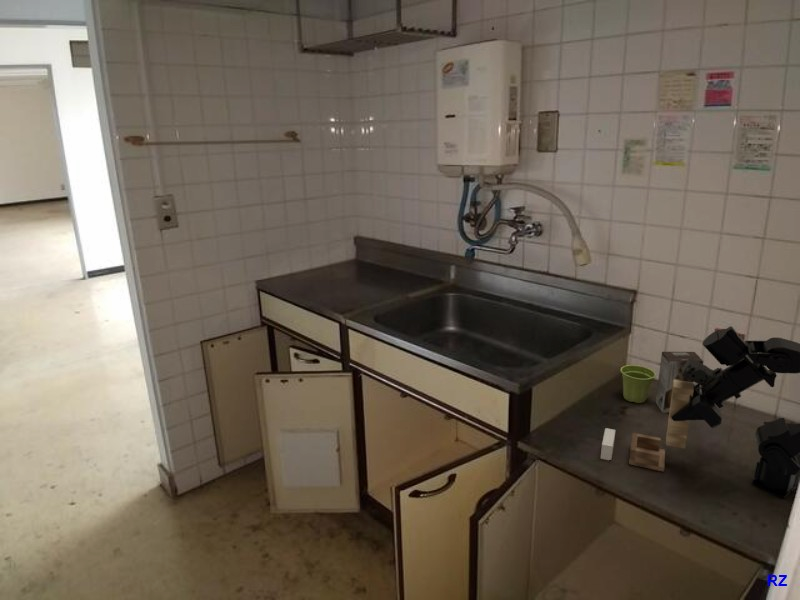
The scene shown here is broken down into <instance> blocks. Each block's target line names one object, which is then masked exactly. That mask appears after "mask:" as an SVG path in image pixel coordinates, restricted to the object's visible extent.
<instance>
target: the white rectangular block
mask: <svg viewBox="0 0 800 600" xmlns="http://www.w3.org/2000/svg"><path fill="white" fill-rule="evenodd" d="M615 437H616V429H612V428H608V427H607V428H605V429H604V433H603V438H602V443H601V451H600V460H605V461H609V460H611V461H612V457H613V452H614V446H615Z"/></svg>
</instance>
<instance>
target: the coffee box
mask: <svg viewBox="0 0 800 600" xmlns="http://www.w3.org/2000/svg"><path fill="white" fill-rule="evenodd" d="M689 358H692V359H694V360H696V361H698V362H700V363H702V364H703V365H704V360H703V359H702V358H701V357H700V355H698V354H697V353H696V352H695V351H662V352H661V357H660V365H659V371H658V380H657V389H656V396H655V404H656V406H657V407H658V408H659V410H660V411H661V412H662V413H666V414H667V413H669V411H670V404H671V396H672V389H673V381H674V380H680V381H687V382H689V380H690V379H687V378H685V377H684V376H682V370H681V368H682V367H683V366H684V365H685V363H686V362H687V361H688V359H689ZM691 381H692V380H691ZM692 382H694V381H692Z"/></svg>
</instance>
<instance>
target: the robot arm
mask: <svg viewBox="0 0 800 600" xmlns="http://www.w3.org/2000/svg"><path fill="white" fill-rule="evenodd" d="M702 346H703V347H704V348H705V349H706V350H707V351H708V352H709V353H710V355H711V356H712V357H714V359H716V361H717V362H718V363H719V364H720V365H722V366H726V368H722V367H716V368H715V369H711V368H710V367H709V366H707V365H706V364H704V363H703V364H702V363H700V362H698V361H696V360H694V359H692V358H689V359H688V361H687V362H686V363H685V365H684V366H683V367H682V368H681V370H682V376H684V377H685V378H687V379H690V380H689V382H692V381H694V382H693V387H694V392H693V397H692V396H691V395H690V397H689V403H688V404H687V405H686V406H684V407H683V408H682V409H680V410H679V411H678V412H676V413H675V414H674V415H673V416H672V417H671V418H672V419H673V420H674V421H686V420H689V421H705V422H706V424H707V425H708V426H709V427H710V428H712V429H714V428H717V427H718V426H720V425H721V424H722V420H723V419H722V412H721V410H720V409H721V408H723V407H724V402H727V401H729V399H733V398H735V399H739V398H741V397H742V394H741V393H743V392H744V391H746V390H748V389H750V388H752V387H754V386H756V385H757V384H759V383H761V382H762V381H765V382H766V384H768V386H769V387H770V388H774V387H775V382H776V378H777V374H800V343H799V342H797V341H793V340H790V339H787V338H782V337H770V338H768V339H766V340H744V339H743V338H742V337H741V336H740V335H739V334H738V333H737V331H736V329H735V328H734V327H733V326H729V327H726V328H721V329H719V330H715V331H713V332H712V333H710V334H708V335H707V337H706V338H705V339H704V340H703V341H702ZM691 380H692V381H691ZM754 439H755V444H756V447H757V451H758V453H759V455H760V458H759V460H758V461H757V462H756V465H755V469H754V474H753V479H754V480H751V481H752V482H751V484H752V485H753V486H755V487H758V488H760V489H761V490H763V491H766V492H768V493H770V494H773V495H775V496H777V497H778V498H781V499H785V498H787V497H788V496H789V495H790V494H791V493H792V492H793V491H795V490H796V487H797V485H796V484H795V482H796V481H795V480H796V476H797V474H798V473H799V471H800V465H799V461H798V458H797V456H798V455H800V423H792V422H791V423H790V422H788V423H787V421H786V419H785V417H780V418H777V419H775V420H771V421H763V425H760V426H758V427H757V429H756V430H755V433H754ZM791 491H792V492H791Z"/></svg>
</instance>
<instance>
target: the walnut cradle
mask: <svg viewBox="0 0 800 600" xmlns="http://www.w3.org/2000/svg"><path fill="white" fill-rule="evenodd" d="M660 446H661V437H658V436H651V435H646V434H640V433H636V432H632V435H631V444H630V451H629V459H628V460H629V461H628V465H631V466H636V467H641V468H646V469H649V470H655V471H659V472H665V466H666V465H665V463H666V462H665V460H666V459H665V455H666V454H665V452H666V450H665V449H661V448H660Z"/></svg>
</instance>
